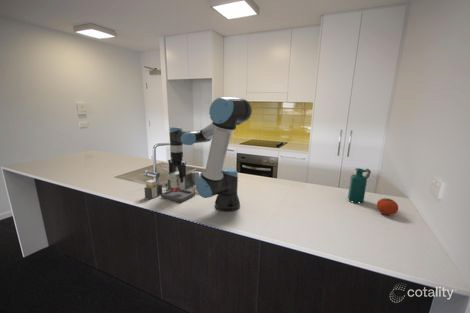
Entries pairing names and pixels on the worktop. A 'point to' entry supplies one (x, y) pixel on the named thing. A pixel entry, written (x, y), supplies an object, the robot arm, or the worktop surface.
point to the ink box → (176, 182)
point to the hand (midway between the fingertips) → (177, 186)
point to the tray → (178, 195)
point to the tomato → (387, 206)
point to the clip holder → (154, 189)
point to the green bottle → (358, 185)
